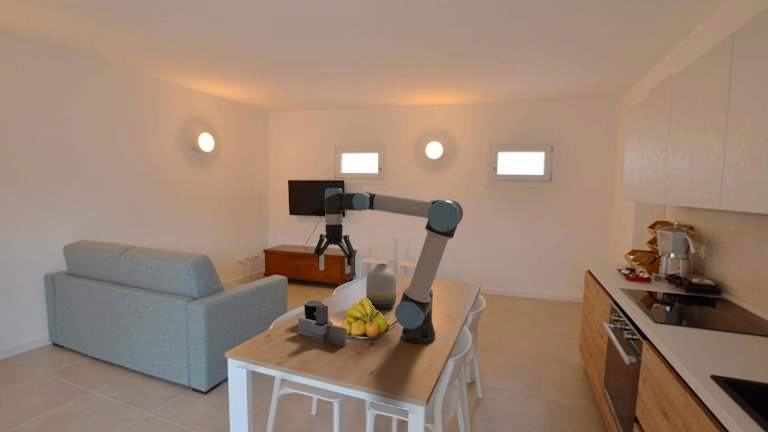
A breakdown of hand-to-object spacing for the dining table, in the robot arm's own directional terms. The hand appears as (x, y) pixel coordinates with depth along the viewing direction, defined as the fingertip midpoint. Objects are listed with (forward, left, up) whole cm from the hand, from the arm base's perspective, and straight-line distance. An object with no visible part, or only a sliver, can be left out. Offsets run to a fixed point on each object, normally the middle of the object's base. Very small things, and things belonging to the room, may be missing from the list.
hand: (334, 271), depth 159 cm
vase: (+1, -46, -30) cm, 55 cm away
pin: (+3, +6, -30) cm, 30 cm away
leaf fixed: (-2, +6, -30) cm, 30 cm away
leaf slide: (+7, +6, -29) cm, 31 cm away
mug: (+18, -9, -30) cm, 36 cm away
